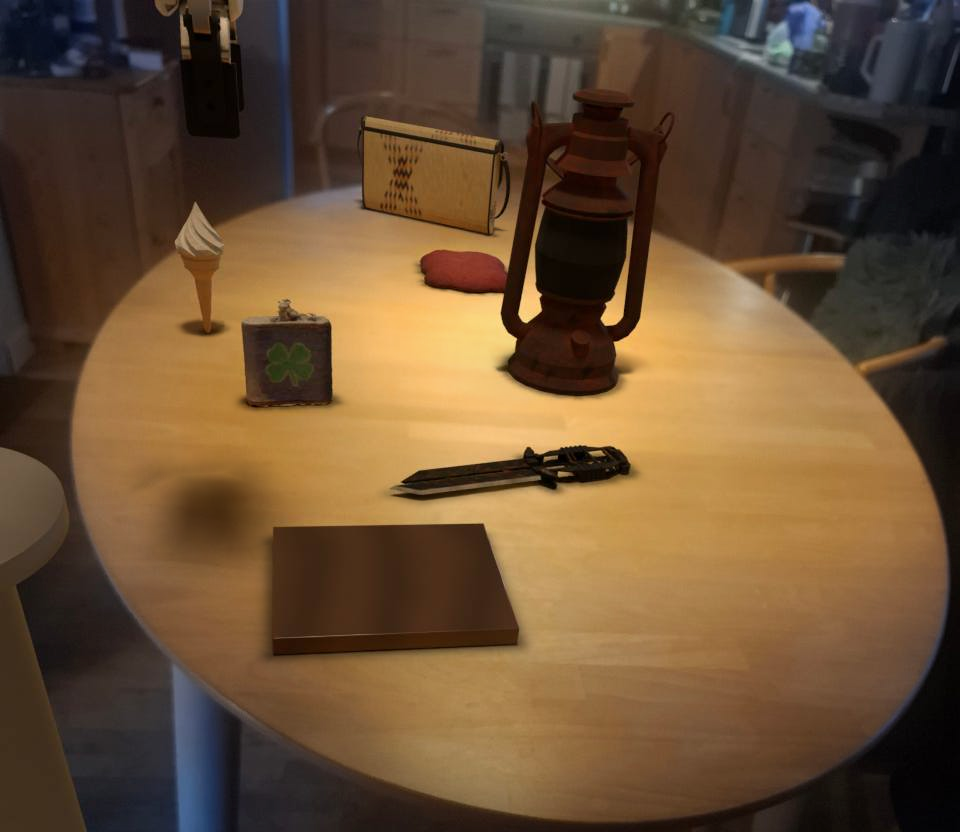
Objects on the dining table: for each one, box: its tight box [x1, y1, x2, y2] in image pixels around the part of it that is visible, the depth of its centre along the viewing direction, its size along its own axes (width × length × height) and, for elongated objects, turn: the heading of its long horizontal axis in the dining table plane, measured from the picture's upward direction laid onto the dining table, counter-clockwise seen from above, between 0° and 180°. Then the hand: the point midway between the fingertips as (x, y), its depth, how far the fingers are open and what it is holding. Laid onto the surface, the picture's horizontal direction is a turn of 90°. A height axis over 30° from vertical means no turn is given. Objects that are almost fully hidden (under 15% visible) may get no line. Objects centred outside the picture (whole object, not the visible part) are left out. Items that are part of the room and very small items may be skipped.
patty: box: [419, 249, 508, 293], centre depth 137 cm, size 18×14×2 cm
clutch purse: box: [356, 115, 511, 236], centre depth 158 cm, size 30×7×15 cm, turn 66°
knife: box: [389, 444, 631, 496], centre depth 88 cm, size 25×6×1 cm, turn 108°
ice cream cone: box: [174, 201, 225, 334], centre depth 106 cm, size 6×6×15 cm
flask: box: [240, 298, 334, 408], centre depth 94 cm, size 9×3×11 cm, turn 106°
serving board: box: [272, 522, 520, 655], centre depth 71 cm, size 18×15×2 cm
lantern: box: [500, 87, 676, 397], centre depth 101 cm, size 17×14×30 cm
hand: (218, 122), depth 59 cm, fingers open, 9 cm apart
